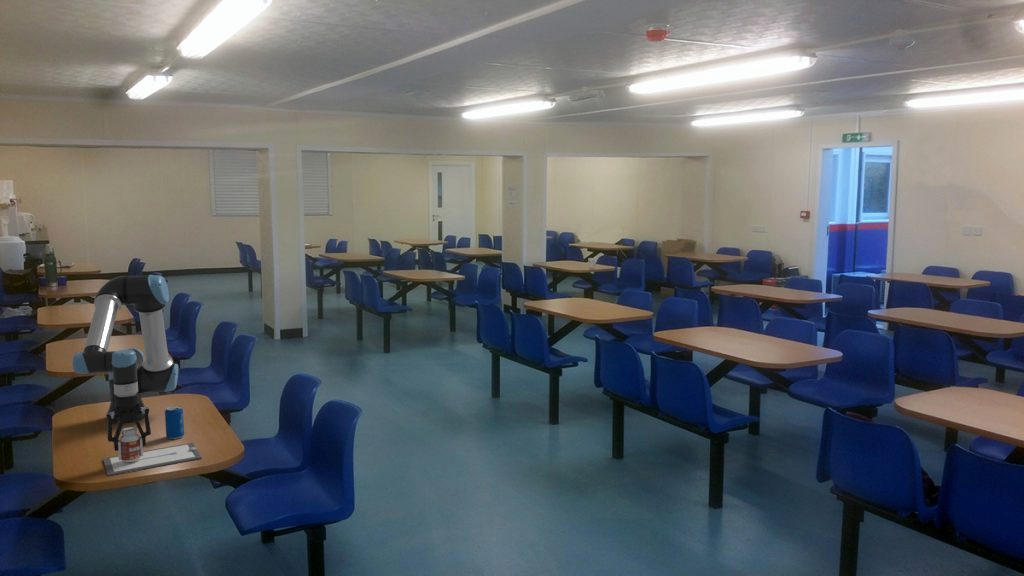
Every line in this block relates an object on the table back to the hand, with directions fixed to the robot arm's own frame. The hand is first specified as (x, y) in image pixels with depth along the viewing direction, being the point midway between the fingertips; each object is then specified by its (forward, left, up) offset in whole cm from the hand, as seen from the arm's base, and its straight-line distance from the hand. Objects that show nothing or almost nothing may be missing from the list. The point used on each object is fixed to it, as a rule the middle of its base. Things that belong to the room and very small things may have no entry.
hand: (130, 456), depth 262 cm
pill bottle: (0, 0, -1) cm, 1 cm away
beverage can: (-21, +18, -3) cm, 28 cm away
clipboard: (0, +7, -2) cm, 7 cm away
